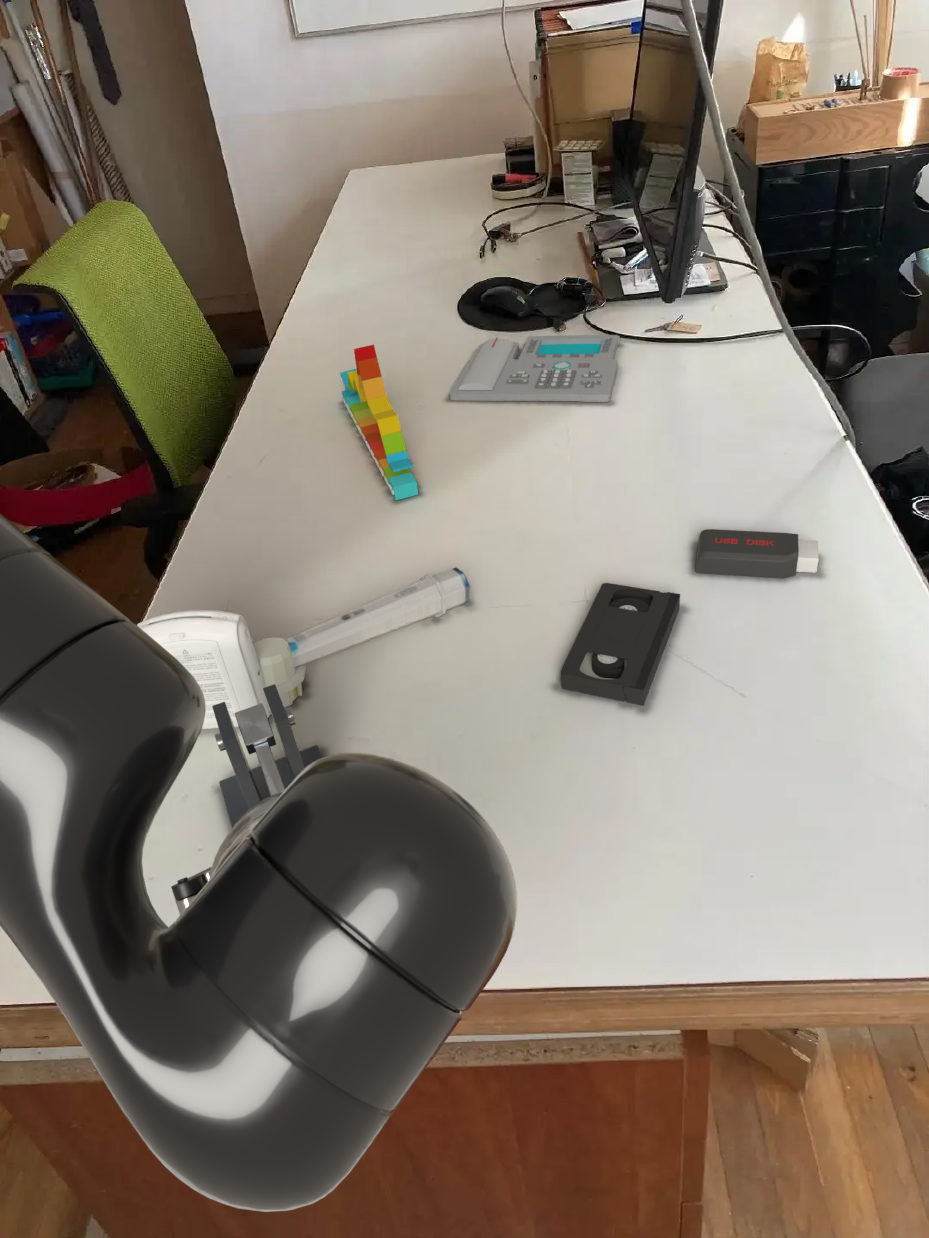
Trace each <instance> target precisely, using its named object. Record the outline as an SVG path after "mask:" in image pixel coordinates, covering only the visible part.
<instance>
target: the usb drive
mask: <svg viewBox="0 0 929 1238" xmlns="http://www.w3.org/2000/svg"><path fill="white" fill-rule="evenodd" d="M696 553H697V555H696V564H695V573H696V574H705V575H706V574H707V575H721V576H722V575H723V576H736V577H737V576H738V577H754V578H770V579H771V578H773V579H787V578H790V577H795V576H797V575H796V574H797V573H811V574H812V573H814V574H816V573H817V571H818V566H819V560H820V557H819V556H820V555H819V542H818V540H811V539H810V540H809V539H807V540H806V539H799V534H798V533H791V532H775V531H756V530H755V531H754V530H737V529H736V530H735V529H714V528H709V529H708V528H707V529H703V530H702V531H700V533H699V535H698V545H697V552H696Z"/></svg>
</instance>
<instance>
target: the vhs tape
mask: <svg viewBox="0 0 929 1238" xmlns="http://www.w3.org/2000/svg"><path fill="white" fill-rule="evenodd" d="M680 602H681V593H675V592H671V591H667V592H663V591H660V590H654V589H648V588H641V587H635V586H630V585H622V584H616V583H611V582H604V583H601V586H600V587H599V590H598V592H597V594H596V596H595V598H594V600H593V603H592V605H591V607H590V609H589V610H588V613H587V614H586V617H585V619H584V621H583V623H582V625H581V627H580V630H579V631H578V633H577V635H576V638H575V639H574V641H573V644H572V646H571V648H570V650H569V652H568V654H567V656H566V659H565V661H564V663H563V664H562V667H561V669H560V686H561V688H562V689H563V690H565V691H570V692H576V693H577V692H578V693H580V694H585V695H590V696H595V697H599V698H605V699H608V700H609V699H610V700H614V701H618V702H625V701H626V703H629V704H634V705H638V706H645V703H646V701H647V698H648V695H649V692H650V689H651V687H652V684H653V681H654V679H655V676H656V673H657V672H658V671H657V670H658V668H659V666H660V663H661V660H662V658H663V654H664V652H665V650H666V646H667V643H668V641H669V638H670V636H671V633H672V631H673V627H674V625H675V622H676V619H677V617H678V614H679V612H680V604H681V603H680Z"/></svg>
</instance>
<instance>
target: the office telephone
mask: <svg viewBox="0 0 929 1238" xmlns="http://www.w3.org/2000/svg"><path fill="white" fill-rule="evenodd" d="M620 337H621V336H620V335H618V334H589V335H588V334H583V335H582V334H581V335H580V334H579V335H578V334H577V335H576V334H575V335H573V334H572V335H531V336H528V337H526V342H525V344H524V346H523V348H522V351H521V353H520V354H519V351H520V343H519V342H516V341H512V340H510V339H506V338H499V337H496V338H490V339H486V340H485V341H484V342H483V343H480V344H479V345H478V347H477V349H476V350H475V351H474V353H473V354H472V356H471V358H470V360H469V361H468V362H467V363H466V364H465V367H464V368H463V370H462V372H461V373H460V375H459V377H458V378H457V380H456V382H455V383H454V385H453V386H452V388H451V390H450V391H449V392H448V394H449V400H450V401H468V402H469V401H472V402H473V401H474V402H477V401H479V402H482V401H487V402H489V401H491V402H493V401H495V402H498V401H499V402H501V401H503V402H507V401H508V402H521V401H522V402H583V403H584V402H586V403H587V402H589V403H590V402H592V403H594V402H595V403H597V402H598V403H608V402H610V401H611V399H612V396H613V391H614V387H615V382H616V379H617V373H618V360H617V359H615V355H616V351H617V348H618V346H619V345H620V344H621V338H620ZM518 354H519V357H518ZM517 357H518V359H516V358H517Z"/></svg>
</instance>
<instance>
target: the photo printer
mask: <svg viewBox="0 0 929 1238" xmlns="http://www.w3.org/2000/svg"><path fill="white" fill-rule="evenodd" d="M136 625H137V626H138V627H139V628H141V629H142V630H143V631H144V632H145V633H147V634H148V635H149V636H150V637H151V638H152V639H154V640H155V641H156V642H157V643H158V644H160V645H161V646H162V647H163V648H164V649H165V650H167V651H168V652H169V653H170V654H171V655H173V656H174V657H175V658H176V659H177V660H179V662H180V663H181V664H182V665H183V666H184V667H185V668H186V669H187V670H188V671H189V672H190V673H191V674H192V676H193V677H194V678H195V680H196V681H197V683H198V684H199V686H200V688H201V690H202V692H203V695H204V699H205V708H206V711H205V718H204V723H203V726H202V729H201V730H209V729H210V730H211V729H219V728H218V724H217V721H216V718H215V714H214V711H213V708H212V706H213V705H216V704H219V703H222V702H225V703H226V706H227V709H228V711H229V714H230V717H231V719H232V722H233V724H234V727H235V728H237V727H238V728H239V726H238V723H237V720H236V717H235V714H234V713H236V712H238V711H241V710H244V709H247V708H250V707H252V706H255V705H258V704H261V703H262V704H263V706H264V709H265V712H266V715H267V718H268V719H269V717H271V716H272V714H271V711H270V708H269V706H268V703H267V700H266V697H265V694H264V691H263V688H265V687H266V686H265V682H264V678H263V675H262V672H261V668H260V664H259V661H258V658H257V655H256V651H255V648H254V645H253V644H254V642H253V638H252V635H251V632H250V630H249V626H248V623H247V621H246V619H245V617H244V616H243V615H241V614H239V613H236V612H230V611H226V610H225V611H224V610H216V609H189V610H188V609H187V610H179V611H172V612H166V613H163V614H159V615H157V616H152V617H150V618H147V619H144V620H143V621H140V622H138V623H137V624H136Z"/></svg>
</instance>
